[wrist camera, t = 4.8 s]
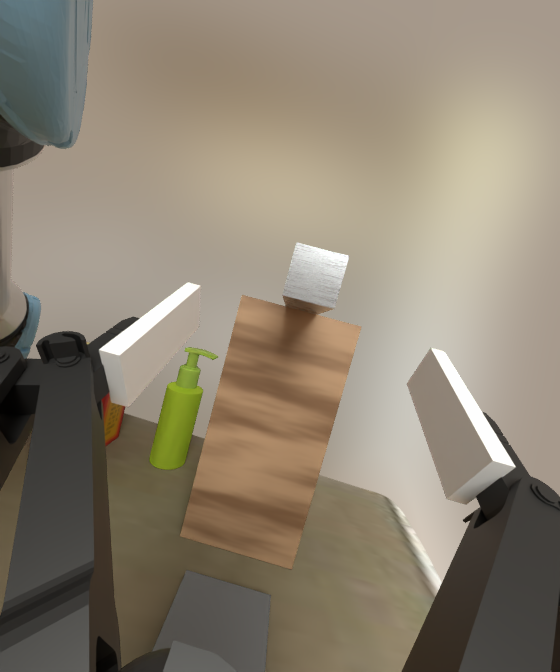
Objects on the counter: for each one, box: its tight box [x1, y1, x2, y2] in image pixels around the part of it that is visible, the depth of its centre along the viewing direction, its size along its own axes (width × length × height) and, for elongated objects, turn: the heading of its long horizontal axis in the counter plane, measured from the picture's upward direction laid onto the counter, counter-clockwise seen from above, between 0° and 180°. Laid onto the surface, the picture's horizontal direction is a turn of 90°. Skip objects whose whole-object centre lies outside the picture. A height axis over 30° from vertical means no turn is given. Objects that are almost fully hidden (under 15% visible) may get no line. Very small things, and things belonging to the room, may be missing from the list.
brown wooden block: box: [180, 295, 361, 570], centre depth 35 cm, size 10×14×30 cm
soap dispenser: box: [149, 347, 218, 470], centre depth 44 cm, size 6×7×20 cm
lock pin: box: [283, 243, 349, 315], centre depth 31 cm, size 28×5×5 cm, turn 177°
